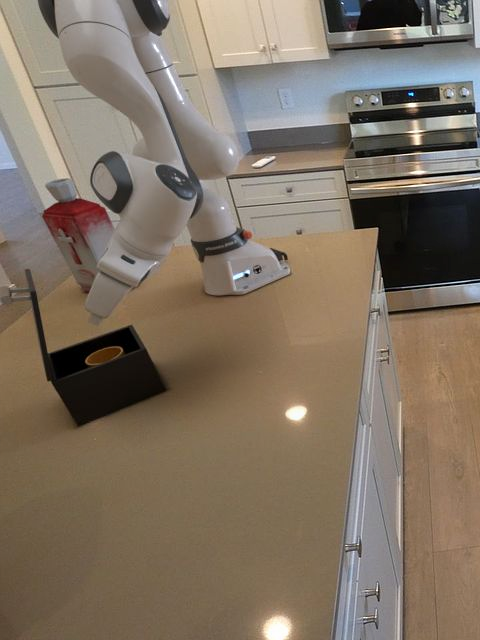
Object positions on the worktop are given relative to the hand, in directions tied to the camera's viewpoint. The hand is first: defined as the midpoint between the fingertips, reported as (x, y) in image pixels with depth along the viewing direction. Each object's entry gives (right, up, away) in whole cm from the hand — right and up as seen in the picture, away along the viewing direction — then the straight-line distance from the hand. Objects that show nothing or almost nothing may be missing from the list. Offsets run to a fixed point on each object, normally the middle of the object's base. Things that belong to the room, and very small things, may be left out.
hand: (104, 309), depth 104 cm
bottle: (-34, +11, +55) cm, 65 cm away
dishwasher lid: (-9, -3, -4) cm, 10 cm away
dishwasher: (-3, -16, +9) cm, 18 cm away
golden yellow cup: (-2, -15, +9) cm, 17 cm away
